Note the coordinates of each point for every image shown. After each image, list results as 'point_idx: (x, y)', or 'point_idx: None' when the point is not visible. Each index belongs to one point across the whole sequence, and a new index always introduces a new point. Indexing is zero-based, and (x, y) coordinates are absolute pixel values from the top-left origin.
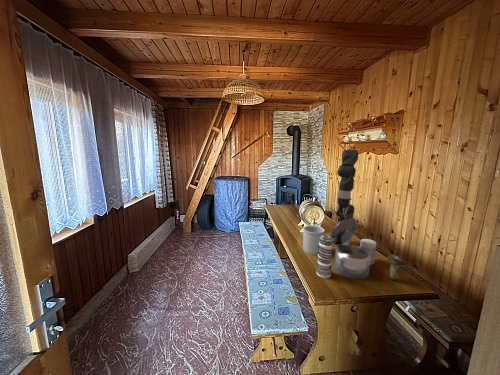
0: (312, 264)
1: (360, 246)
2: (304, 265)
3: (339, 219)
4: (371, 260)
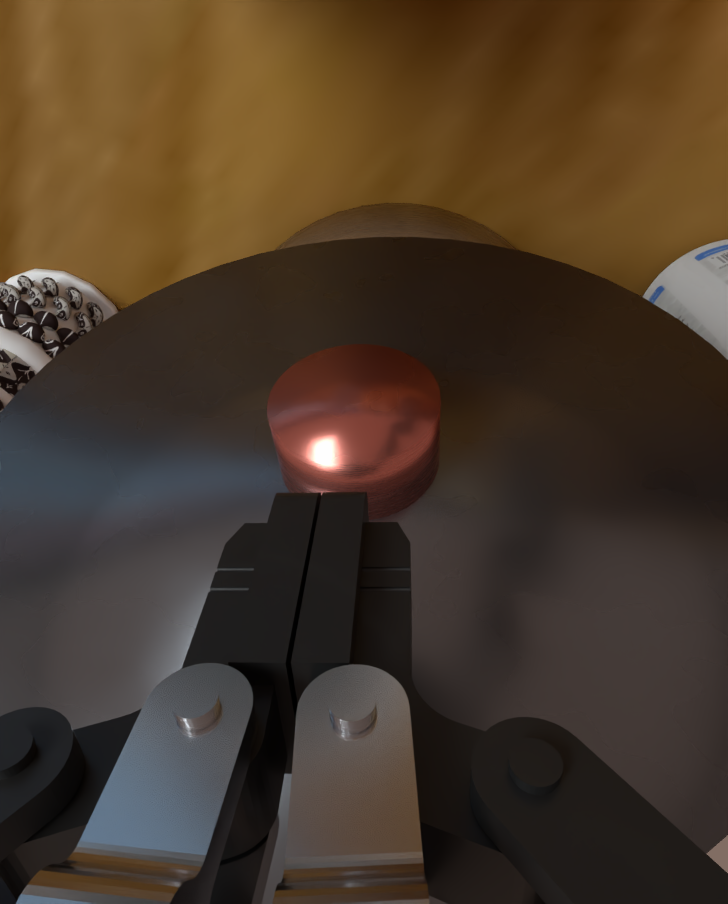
0: (15, 129)
1: (726, 357)
2: None
3: (214, 589)
4: None
